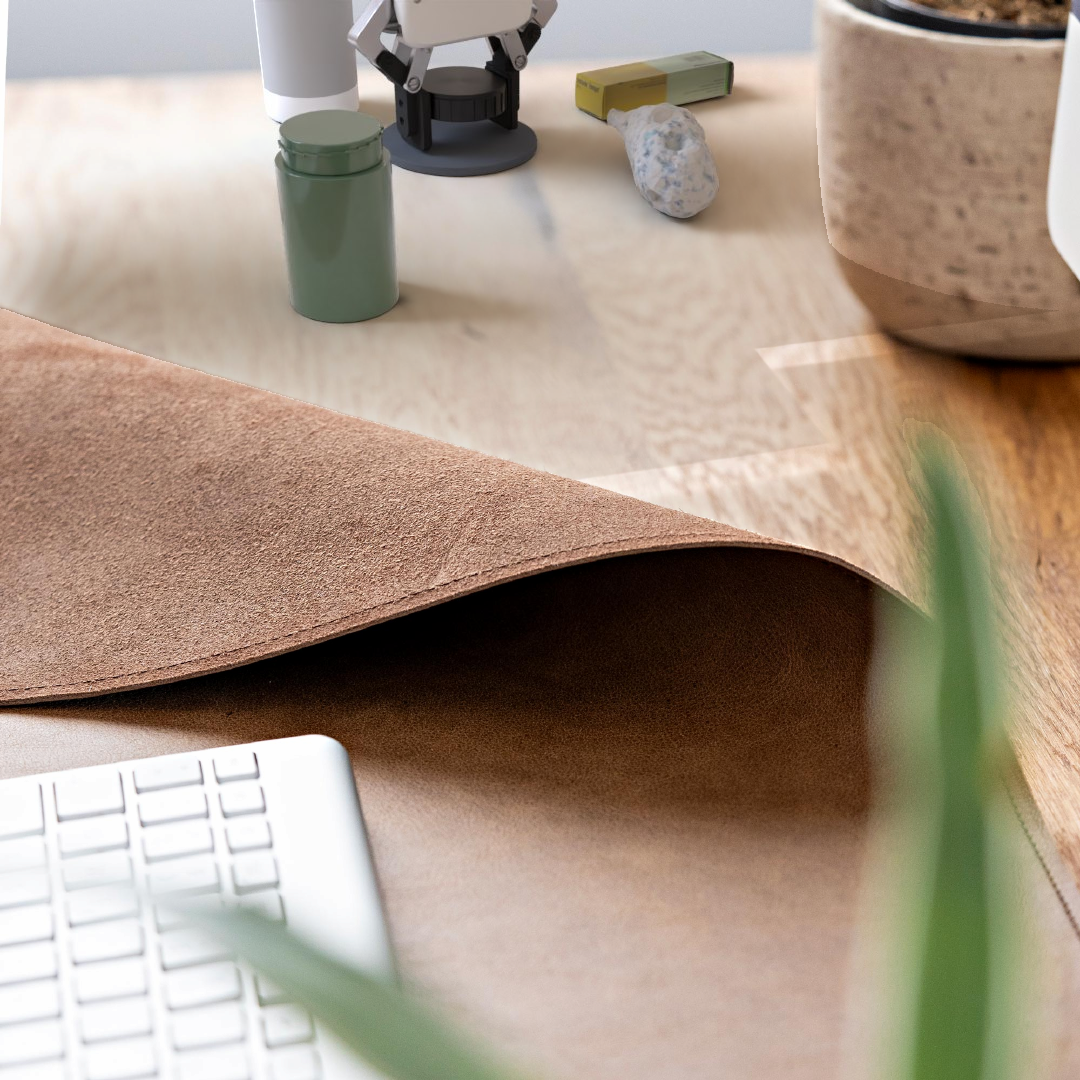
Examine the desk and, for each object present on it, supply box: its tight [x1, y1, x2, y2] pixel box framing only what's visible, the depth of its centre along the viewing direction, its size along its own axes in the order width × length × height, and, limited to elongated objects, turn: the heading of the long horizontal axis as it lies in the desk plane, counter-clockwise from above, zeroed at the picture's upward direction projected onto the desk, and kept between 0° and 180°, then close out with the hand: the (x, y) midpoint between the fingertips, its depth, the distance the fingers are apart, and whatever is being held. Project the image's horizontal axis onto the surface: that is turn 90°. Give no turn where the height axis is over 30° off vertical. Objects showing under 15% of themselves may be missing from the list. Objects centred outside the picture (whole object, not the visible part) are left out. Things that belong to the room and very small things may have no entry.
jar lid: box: [422, 65, 507, 122], centre depth 87 cm, size 6×6×2 cm
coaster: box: [382, 119, 538, 177], centre depth 90 cm, size 11×11×1 cm
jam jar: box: [273, 110, 400, 324], centre depth 68 cm, size 6×6×10 cm
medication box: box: [574, 50, 735, 121], centre depth 97 cm, size 12×3×4 cm
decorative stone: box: [606, 103, 720, 219], centre depth 83 cm, size 13×7×5 cm, turn 12°
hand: (459, 131), depth 89 cm, fingers closed on jar lid, 6 cm apart
